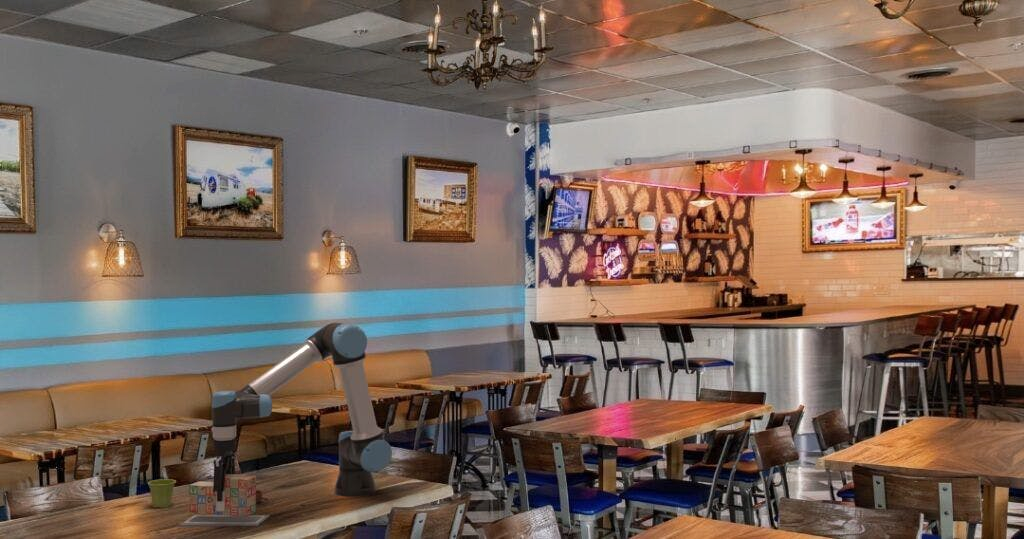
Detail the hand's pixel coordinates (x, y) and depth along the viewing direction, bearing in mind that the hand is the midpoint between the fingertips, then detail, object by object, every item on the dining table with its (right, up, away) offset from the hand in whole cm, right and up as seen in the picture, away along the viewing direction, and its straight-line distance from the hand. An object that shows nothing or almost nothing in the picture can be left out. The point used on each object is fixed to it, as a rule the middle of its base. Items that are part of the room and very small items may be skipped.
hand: (224, 507), depth 322 cm
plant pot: (-29, -6, +24) cm, 39 cm away
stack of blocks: (-1, -2, 0) cm, 2 cm away
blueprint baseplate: (0, -5, 0) cm, 5 cm away
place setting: (0, -6, +29) cm, 29 cm away
